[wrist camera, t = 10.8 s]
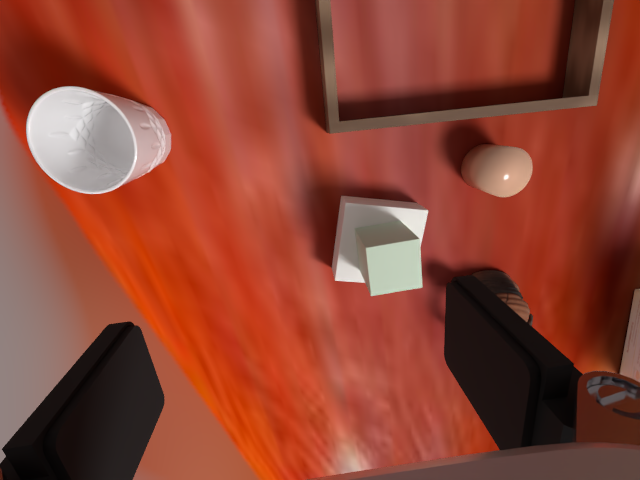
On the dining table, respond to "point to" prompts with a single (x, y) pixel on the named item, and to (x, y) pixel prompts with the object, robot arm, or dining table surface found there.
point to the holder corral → (578, 92)
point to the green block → (389, 257)
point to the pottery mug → (505, 291)
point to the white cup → (95, 138)
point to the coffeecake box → (632, 342)
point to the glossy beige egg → (497, 169)
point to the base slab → (366, 214)
